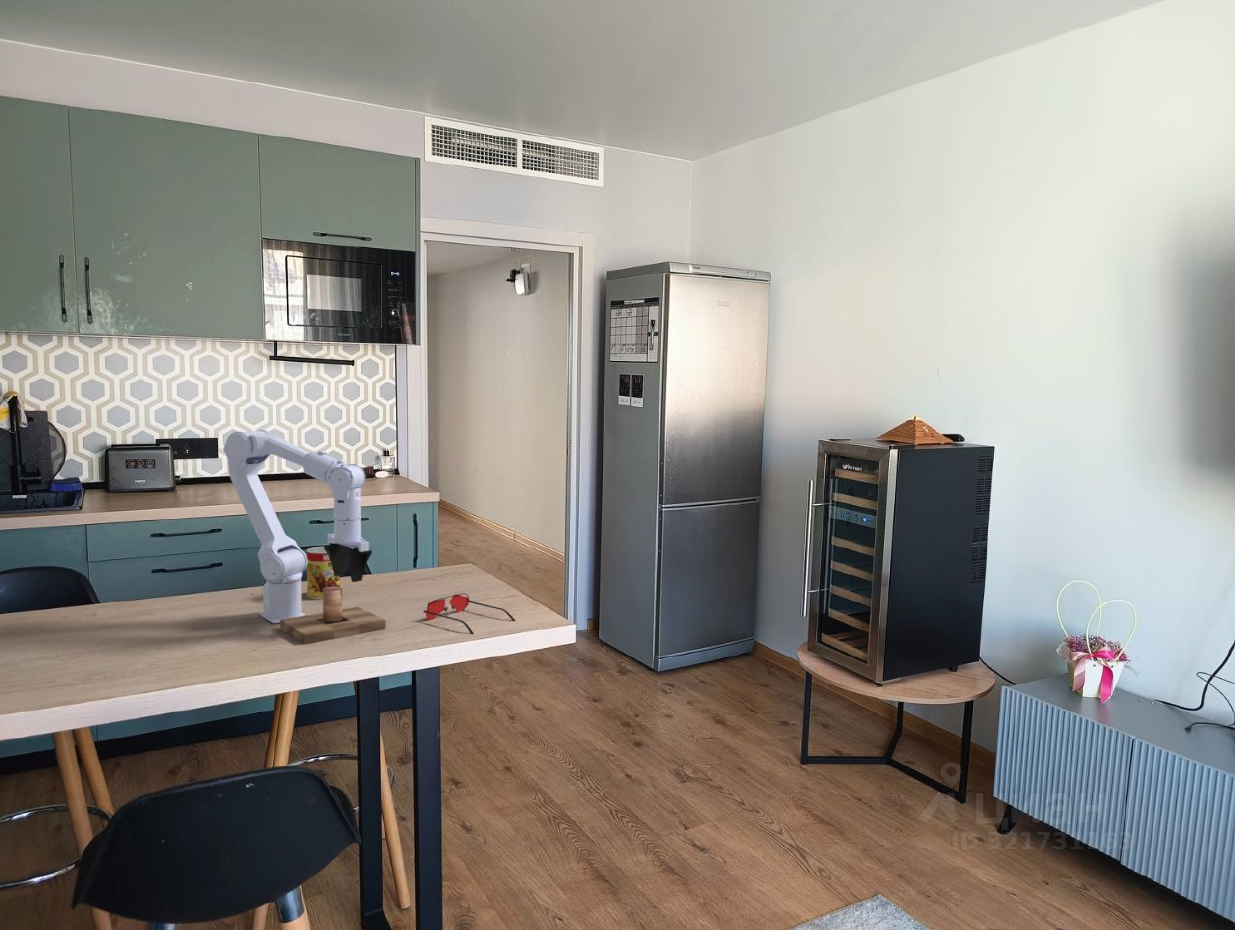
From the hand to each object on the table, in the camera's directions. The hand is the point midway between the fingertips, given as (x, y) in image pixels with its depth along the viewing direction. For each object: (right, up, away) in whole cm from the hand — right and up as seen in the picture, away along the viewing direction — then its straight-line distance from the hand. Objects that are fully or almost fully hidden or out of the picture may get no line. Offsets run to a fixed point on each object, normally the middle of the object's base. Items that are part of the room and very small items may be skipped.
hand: (347, 578), depth 185 cm
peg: (-2, -11, -3) cm, 11 cm away
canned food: (-14, -8, +25) cm, 30 cm away
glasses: (+26, -11, +6) cm, 29 cm away
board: (-2, -11, -3) cm, 11 cm away
